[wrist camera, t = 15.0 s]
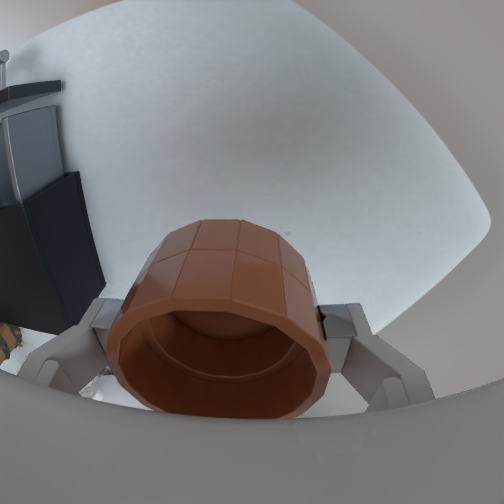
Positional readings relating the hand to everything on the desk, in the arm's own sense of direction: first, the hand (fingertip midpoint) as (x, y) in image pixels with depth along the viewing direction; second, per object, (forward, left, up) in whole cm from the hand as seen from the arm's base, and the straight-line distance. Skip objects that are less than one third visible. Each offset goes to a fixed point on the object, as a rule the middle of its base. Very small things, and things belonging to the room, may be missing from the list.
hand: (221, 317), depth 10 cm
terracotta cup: (0, 0, -2) cm, 2 cm away
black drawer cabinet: (+6, -25, -19) cm, 32 cm away
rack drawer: (-7, -25, -18) cm, 32 cm away
